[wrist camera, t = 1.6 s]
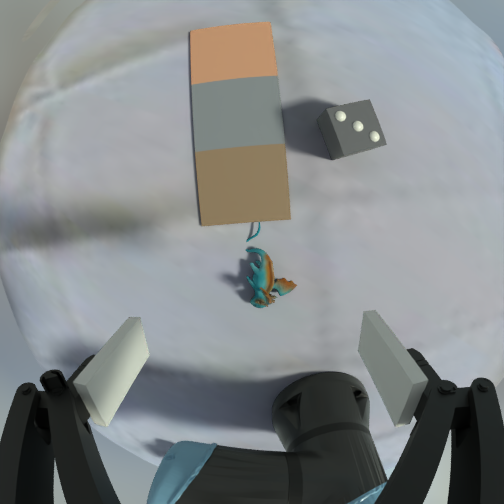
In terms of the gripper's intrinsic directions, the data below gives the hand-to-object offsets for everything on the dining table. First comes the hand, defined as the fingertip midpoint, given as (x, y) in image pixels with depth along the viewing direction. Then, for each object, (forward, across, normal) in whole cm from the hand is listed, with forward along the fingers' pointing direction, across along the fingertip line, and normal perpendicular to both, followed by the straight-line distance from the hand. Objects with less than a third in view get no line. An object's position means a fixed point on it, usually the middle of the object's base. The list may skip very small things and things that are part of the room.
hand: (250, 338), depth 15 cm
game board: (+18, +1, -17) cm, 24 cm away
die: (+18, -11, -14) cm, 25 cm away
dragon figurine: (+18, -1, +2) cm, 18 cm away
